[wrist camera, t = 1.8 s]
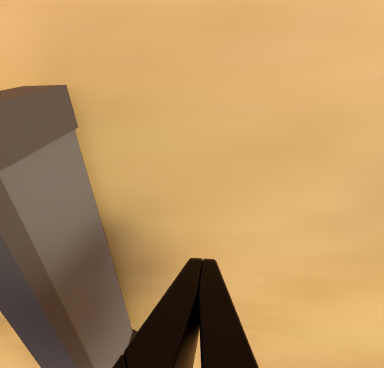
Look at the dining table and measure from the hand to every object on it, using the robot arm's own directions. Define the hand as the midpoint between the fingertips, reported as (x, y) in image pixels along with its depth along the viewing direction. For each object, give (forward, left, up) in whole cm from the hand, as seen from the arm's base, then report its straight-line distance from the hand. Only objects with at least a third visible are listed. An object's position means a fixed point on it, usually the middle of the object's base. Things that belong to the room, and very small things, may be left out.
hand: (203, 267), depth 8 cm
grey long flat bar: (-4, +7, -4) cm, 9 cm away
